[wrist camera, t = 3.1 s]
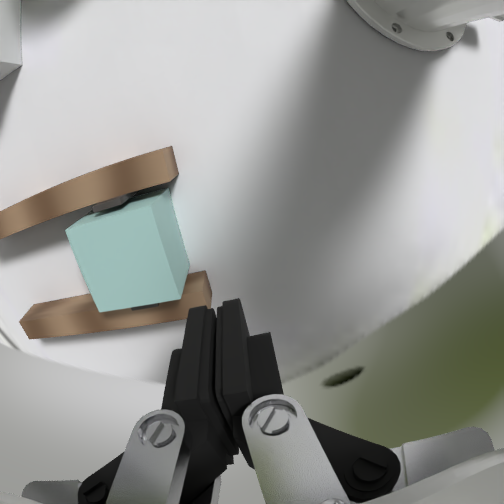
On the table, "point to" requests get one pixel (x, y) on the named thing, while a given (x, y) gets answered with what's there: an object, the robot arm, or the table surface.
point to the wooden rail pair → (106, 196)
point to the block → (131, 252)
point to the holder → (10, 36)
